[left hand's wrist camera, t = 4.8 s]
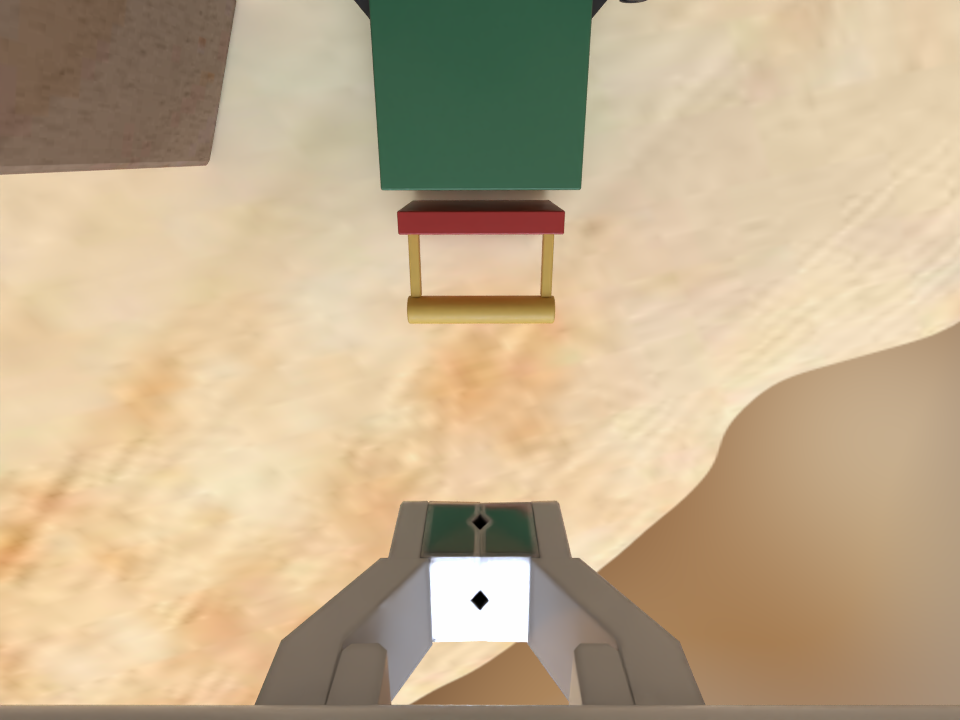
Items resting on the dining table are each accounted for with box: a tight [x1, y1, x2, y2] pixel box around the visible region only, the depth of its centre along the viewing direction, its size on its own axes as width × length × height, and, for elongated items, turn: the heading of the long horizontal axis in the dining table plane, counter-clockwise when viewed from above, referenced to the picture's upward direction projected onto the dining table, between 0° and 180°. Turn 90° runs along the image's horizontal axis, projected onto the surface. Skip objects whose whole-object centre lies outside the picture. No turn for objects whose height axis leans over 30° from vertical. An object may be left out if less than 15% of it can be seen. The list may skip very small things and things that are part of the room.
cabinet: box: [369, 0, 593, 190], centre depth 28 cm, size 14×10×9 cm
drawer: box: [397, 200, 565, 324], centre depth 30 cm, size 19×9×7 cm, turn 0°
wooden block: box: [0, 0, 236, 175], centre depth 23 cm, size 10×10×20 cm
